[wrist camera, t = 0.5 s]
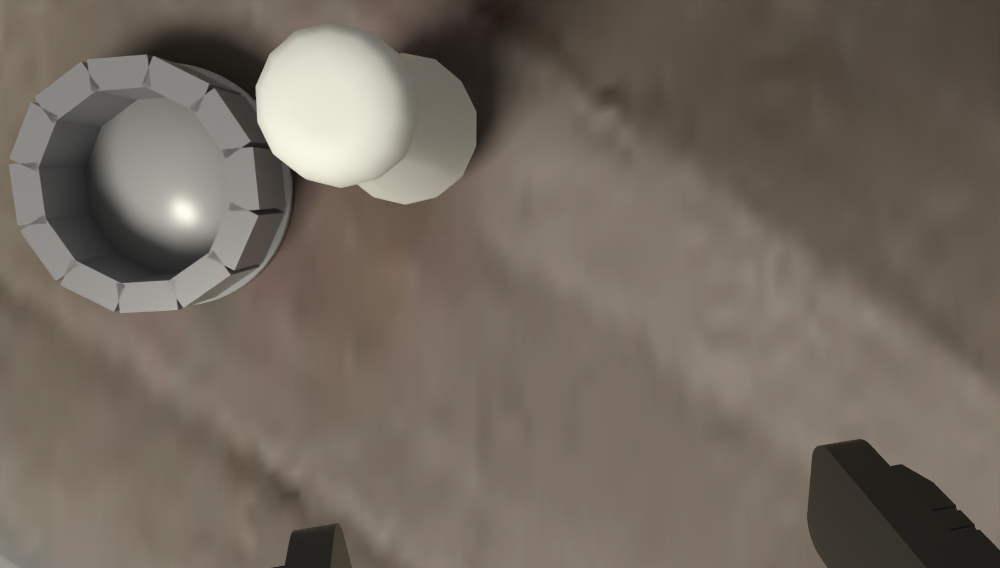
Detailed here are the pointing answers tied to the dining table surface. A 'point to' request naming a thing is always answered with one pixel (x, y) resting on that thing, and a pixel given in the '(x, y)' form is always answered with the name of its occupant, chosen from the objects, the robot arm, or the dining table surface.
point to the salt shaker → (365, 114)
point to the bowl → (148, 184)
